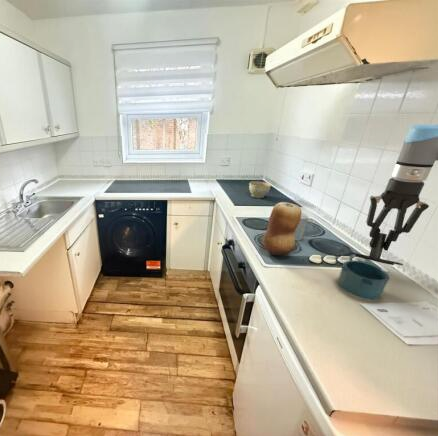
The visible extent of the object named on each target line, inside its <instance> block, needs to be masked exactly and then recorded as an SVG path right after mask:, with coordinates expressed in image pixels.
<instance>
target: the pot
mask: <svg viewBox="0 0 438 436" xmlns="http://www.w3.org/2000/svg"><path fill="white" fill-rule="evenodd" d="M389 281H390V275H389V273H387V272H386V270H384V269H382V268H380V267H379V266H376V265H373V264H371V263H368V262H367V261H365V260H363V259H362V260H361V259H357V260H347V261H345V262H343V264H342V267H341V269H340V272H339V274H338V277H337V284H338V286H339V287H340V288H341V289H343V290H344V291H345V292H347V293H349V294H351V295H353V296H355V297H358V298H361V299H366V300H378V299H380V298H381V297H382V295H383V293H384V291H385V288H386V287H387V285H388V283H389Z"/></svg>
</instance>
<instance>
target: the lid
mask: <svg viewBox="0 0 438 436" xmlns="http://www.w3.org/2000/svg"><path fill="white" fill-rule="evenodd" d="M387 236H388V234H387V233H383V232H380V233H379V236H378V238H377V241H376V243H375V245H374V248H372V247H370V251H369V255H367V254H363V253H357V252H354V251H349V252H348V254H351V255H354V256H355V258H359V259H364V260H367V261H372V262H376V263H379V264H380V263H381V264H385V265H390V266H395V265H398V266H403V265H404V263H401V262H397V261H393V260H389V259H384V258H382V255H383V250H384V248H383V247H384V243H385V241H386V238H387Z"/></svg>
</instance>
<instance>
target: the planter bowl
mask: <svg viewBox="0 0 438 436" xmlns="http://www.w3.org/2000/svg"><path fill="white" fill-rule="evenodd" d="M271 187H272V184H271V183H269V182H266V181H250V182H249V184H248V188H249V193H250V194H251V197H253V198H257V199H263V198H265V196H266V195H267V194H268V193H269V192H270V190H271Z"/></svg>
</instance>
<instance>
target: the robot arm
mask: <svg viewBox="0 0 438 436" xmlns="http://www.w3.org/2000/svg"><path fill="white" fill-rule="evenodd" d="M436 161H438V124H416V125H413V126H412V127H411V128H410V129H409V131H408V133H407V135H406V137H405V139H404V140H403V144H402V146H401V150H400V152H399V154H398V157H397V160H396V163H395V164H394V167H393V169H392V172H391V175H390V177H391V178H389V179H388V183H387V184H386V187H385V189H384V191H383V192H382V193H381V194H380V195H375V196H374V195H370V196H369V200H370V205H369V209H368V214H367V217H366V225H367V226H368V227H370V228H371V229H370V231H369V233H368V236H369V238H371V239H370V241H369V247H370V248H374V245H375V243H376V241H377V238H378V236H379V233H381V228H380V227H381V225H382V223H384V220H385V219H386V217H387V216H388V215H389V213H390V212H391V211H392V210H395V209H396V210H397V213H396V217H395V223H394V227H393V229H389V232H388V234H387V236H386V240H385V243H384V247H383V250H384V251H386V252H387V251H388V250H389V248H390V246H391V245H392V242H397V240H398V238H399V236H400V235H401V234H402V233H404V234H405V233H406V234H408V233H410V232H411V230H412V229H413V227H414V226H415V224H416V223H417V221H418V220H419V218H420V217H421V215H422V214H423V212H424V211H426V210H427V209H429V208H430V206H429V204H427V203H426V202H423V201H421V200H420V194H421V192H422V191H423V188H424V186H425V182H424V181H427V180H428V177H429V174H430V172H431V171H432V168H433V167H434V164H435V162H436ZM381 200H382V201H383V204H384V205H383V207H382V209H381V210H380V212H379V214H378V216H377V217H376V219H375V216H376V211H377V207H378V204H379V203H380V201H381ZM412 206H414V207H415V208H414V209H413V210H412V212H411V214H410V215H409V217H408V218H407V220H406V222H405V223H404V221H405V217H406V213H407V210H408V209H409V208H410V207H412ZM374 219H375V220H374Z"/></svg>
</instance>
